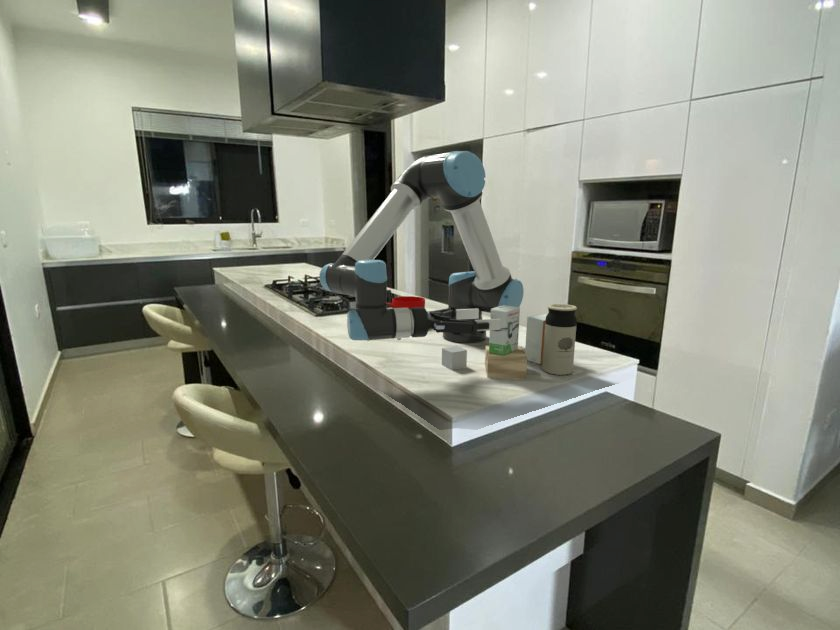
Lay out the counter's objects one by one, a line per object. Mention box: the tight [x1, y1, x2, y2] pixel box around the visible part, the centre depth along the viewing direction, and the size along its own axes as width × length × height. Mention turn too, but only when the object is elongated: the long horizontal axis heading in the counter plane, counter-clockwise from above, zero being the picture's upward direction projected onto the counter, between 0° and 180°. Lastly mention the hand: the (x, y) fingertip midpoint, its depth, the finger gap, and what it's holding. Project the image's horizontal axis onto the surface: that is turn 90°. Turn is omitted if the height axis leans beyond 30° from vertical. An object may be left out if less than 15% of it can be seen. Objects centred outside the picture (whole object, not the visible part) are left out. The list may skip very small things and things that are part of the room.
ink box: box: [488, 305, 521, 355], centre depth 120 cm, size 9×5×12 cm, turn 144°
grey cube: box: [441, 345, 468, 371], centre depth 126 cm, size 5×5×5 cm
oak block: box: [484, 345, 528, 379], centre depth 121 cm, size 10×10×6 cm
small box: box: [524, 313, 548, 365], centre depth 131 cm, size 8×6×13 cm
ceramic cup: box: [387, 295, 426, 310], centre depth 175 cm, size 13×17×10 cm
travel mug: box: [541, 303, 578, 376], centre depth 120 cm, size 8×8×18 cm
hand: (488, 318), depth 118 cm, fingers open, 13 cm apart
